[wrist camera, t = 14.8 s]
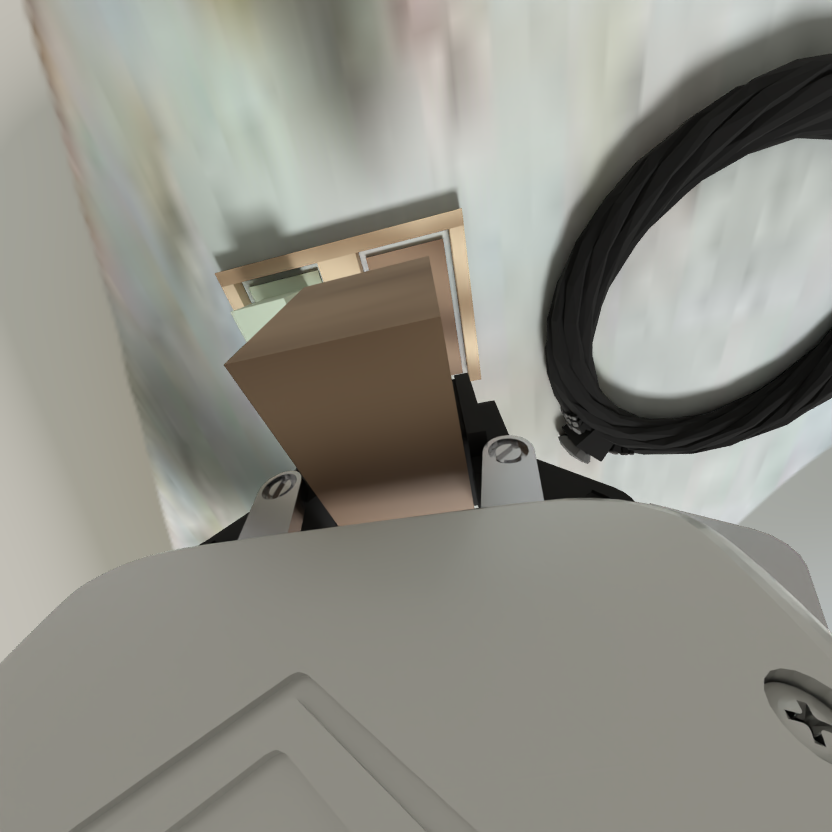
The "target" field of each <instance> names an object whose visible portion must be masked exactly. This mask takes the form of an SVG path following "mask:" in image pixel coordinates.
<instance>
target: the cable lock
mask: <svg viewBox="0 0 832 832" xmlns="http://www.w3.org/2000/svg"><path fill="white" fill-rule="evenodd" d="M795 138H807V139H829V140H832V54H827V55H821V56H815V57H809V58H803V59H797V60H795V61H792V62H790V63H788V64H786V65H784V66H781V67H779V68H777V69H775V70H773V71H770V72H768V73H766V74H764V75H762V76H759V77H757V78H755V79H753V80H751V81H750V82H749V83H747V84H746V85H742V86H739V87H736V88H735V89H733V90H732V91H730V92H729V93H727V94H726V95H724V96H723V97H721V98H720V99H718V100H717V101H715V102H714V103H712V104H711V105H709V106H708V107H706V108H705V109H703V110H702V111H700V112H699V113H697V114H696V115H694V116H693V117H691V118H690V119H688V120H687V121H685V122H684V123H683V124H682V125H681V126H680V127H679V128H678V129H677V130H676V131H675V132H673V133H672V134H671V135H670V136H669V137H667V138H666V139H665V140H664V141H662V142H661V143H660V144H659V145H657V146H656V147H655V148H654V149H652V150H651V151H650V152H649V153H648V154H646V155H645V156H644V157H643V158H641V159H640V160H639V161H638V162H636V163H635V165H634V166H633V167H632V168H631V169H630V170H629V172H628V173H627V174H626V175H625V176H624V177H623V178H622V180H621V181H620V182H619V183H618V184H617V185H616V187H615V188H614V189H613V190H612V191H611V192H610V194H609V195H608V196H607V197H606V198H605V199H604V201H603V203H602V204H601V205H600V207H599V208H598V210H597V211H596V213H595V214H594V216H593V217H592V219H591V220H590V222H589V223H588V225H587V226H586V228H585V229H584V231H583V232H582V234H581V235H580V237H579V238H578V240H577V241H576V243H575V245H574V248H573V250H572V252H571V255H570V257H569V259H568V262H567V264H566V266H565V269H564V271H563V273H562V275H561V277H560V279H559V281H558V282H557V286H556V290H555V293H554V297H553V300H552V304H551V307H550V311H549V314H548V318H547V342H546V347H545V349H546V362H547V374H548V377H549V380H550V384H551V387H552V390H553V393H554V396H555V397H556V399H557V400H558V402H559V404H560V405H561V411H562V414H563V415H564V418H565V420H566V423H567V424H566V425H564V426H563V427H562V429H563V430H564V431H565V433H566V434H567V435H565V436H559V437H558V438H559V440H560V443H561V445H562V446H563V447H564V448H565V450H566V451H567V452H568V453H569V454H570V455H571V456H573V457H575V458H576V459H578V460H580V461H581V462H584V463H587V464H588V463H589V462H590V455H591V456H593V457H594V458H596V459H598V460H599V461H602V460H603V459H604V457H605V456H606V454H607V453H608V452H609V453H612V454H618V453H620V454H621V455H628V454H630V455H634V454H635V453H639V454H643V455H645V454H694V453H698V452H703V451H707V450H712V449H717V448H721V447H726V446H731V445H733V444H736V443H738V442H740V441H743V440H746V439H749V438H752V437H755V436H757V435H760V434H763V433H766V432H768V431H771V430H774V429H777V428H780V427H782V426H785V425H787V424H789V423H790V422H792V421H793V420H795V419H796V418H798V417H800V416H801V415H803V414H804V413H806V412H807V411H809V410H811V409H813V408H815V407H816V406H818V405H820V404H822V403H824V402H826V401H827V400H829V399H831V398H832V329H831V330H830V331H829V333H828V334H827V335H826V336H825V337H824V339H823V340H822V341H821V342H820V344H819V345H818V346H817V347H816V348H814V349H813V350H811V351H810V352H809V353H808V354H806V355H805V356H804V357H803V358H801V359H800V360H799V361H798V362H796V363H795V364H794V365H793V366H791V367H790V368H789V369H788V370H786V371H785V372H784V373H783V374H781V375H780V376H779V377H778V378H776V379H775V380H774V381H772V382H771V383H769V384H768V385H767V386H765V387H764V388H762V389H760V390H758V391H756V392H754V393H753V394H751V395H748V396H745V397H743V398H741V399H739V400H737V401H735V402H732V403H730V404H728V405H726V406H724V407H722V408H719V409H717V410H715V411H713V412H710V413H707V414H704V415H696V416H689V417H682V418H676V419H647V418H641V417H638V416H636V415H633V414H631V413H629V412H627V411H625V410H623V409H621V408H619V407H617V406H616V405H615V404H614V403H613V402H612V401H611V400H610V399H608V398H607V397H606V396H605V395H604V394H603V393H602V391H601V389H600V388H599V384H598V380H597V375H596V370H595V366H594V361H593V357H592V342H593V338H594V334H595V330H596V326H597V323H598V319H599V315H600V311H601V307H602V304H603V302H604V299H605V297H606V294H607V292H608V289H609V287H610V285H611V284H612V282H613V281H614V279H615V277H616V276H617V274H618V273H619V271H620V270H621V268H622V266H623V265H624V263H625V262H626V260H627V259H628V257H629V255H630V254H631V252H632V251H633V249H634V247H635V246H636V245H637V243H638V242H639V241H640V239H641V238H642V237H643V236H644V234H645V233H646V232H647V230H648V229H649V228H650V227H651V226H652V225H654V224H655V223H656V222H657V221H658V220H659V219H660V218H661V217H662V216H663V215H664V214H665V213H666V212H667V211H669V210H670V209H671V208H672V207H673V206H674V205H675V204H676V203H677V202H678V201H679V200H680V199H681V198H682V197H683V196H685V195H686V194H687V193H688V192H689V191H690V190H691V189H692V188H694V187H695V186H696V185H697V184H698V183H700V182H701V181H702V180H704V179H706V178H707V177H709V176H711V175H713V174H714V173H716V172H718V171H720V170H721V169H723V168H725V167H727V166H728V165H730V164H732V163H734V162H735V161H737V160H739V159H741V158H742V157H744V156H746V155H748V154H750V153H753V152H756V151H759V150H762V149H765V148H768V147H771V146H774V145H777V144H780V143H783V142H786V141H789V140H792V139H795ZM633 453H634V454H633Z"/></svg>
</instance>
